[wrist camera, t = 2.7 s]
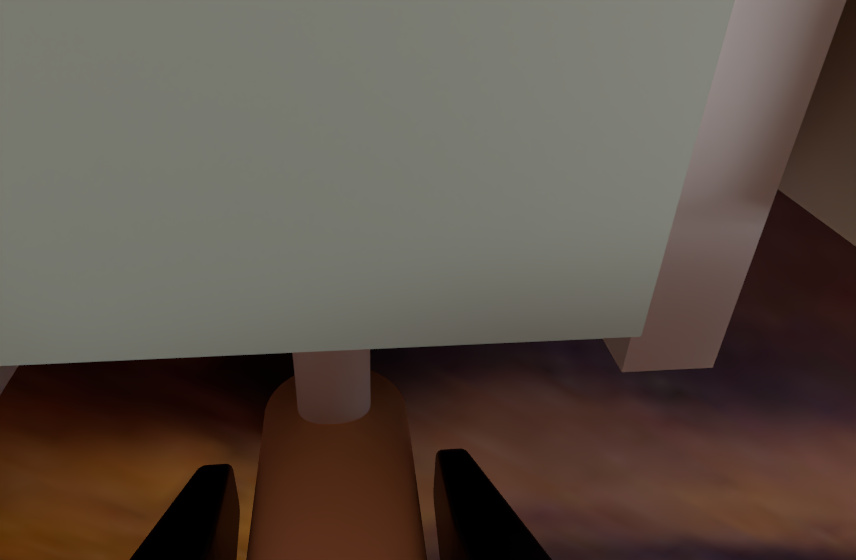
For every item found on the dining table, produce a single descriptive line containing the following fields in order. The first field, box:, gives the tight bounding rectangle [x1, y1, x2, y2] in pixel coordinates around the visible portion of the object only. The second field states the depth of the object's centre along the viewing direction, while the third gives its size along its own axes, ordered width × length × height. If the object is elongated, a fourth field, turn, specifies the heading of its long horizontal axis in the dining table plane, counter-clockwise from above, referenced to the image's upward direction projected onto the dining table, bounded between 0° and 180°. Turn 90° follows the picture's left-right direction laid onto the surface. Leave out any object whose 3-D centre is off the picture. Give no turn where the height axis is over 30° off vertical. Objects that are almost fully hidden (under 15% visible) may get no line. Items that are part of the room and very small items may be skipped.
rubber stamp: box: [0, 0, 735, 560], centre depth 7 cm, size 10×4×4 cm, turn 178°
